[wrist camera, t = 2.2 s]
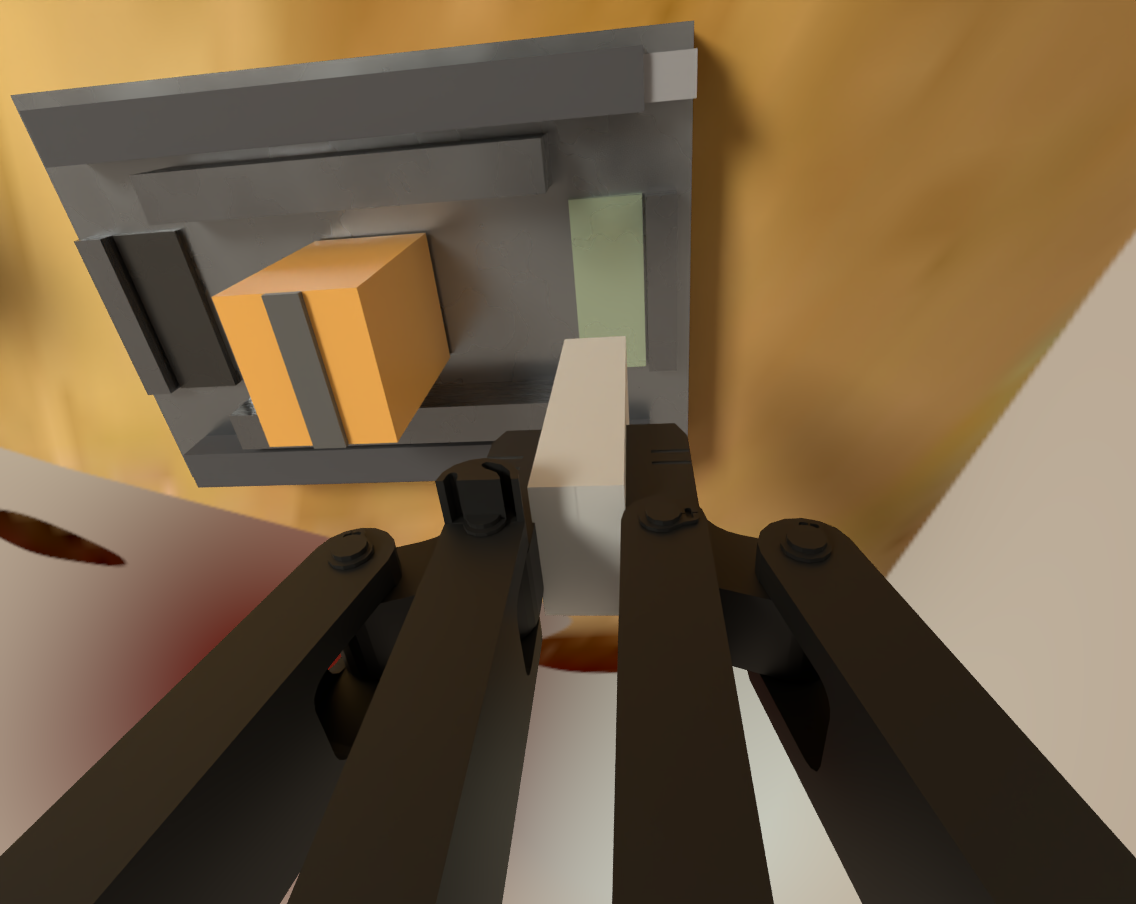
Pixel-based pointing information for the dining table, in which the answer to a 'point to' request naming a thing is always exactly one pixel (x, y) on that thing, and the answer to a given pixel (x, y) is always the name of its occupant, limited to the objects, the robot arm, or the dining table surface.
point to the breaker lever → (338, 340)
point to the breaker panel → (407, 206)
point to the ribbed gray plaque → (352, 114)
